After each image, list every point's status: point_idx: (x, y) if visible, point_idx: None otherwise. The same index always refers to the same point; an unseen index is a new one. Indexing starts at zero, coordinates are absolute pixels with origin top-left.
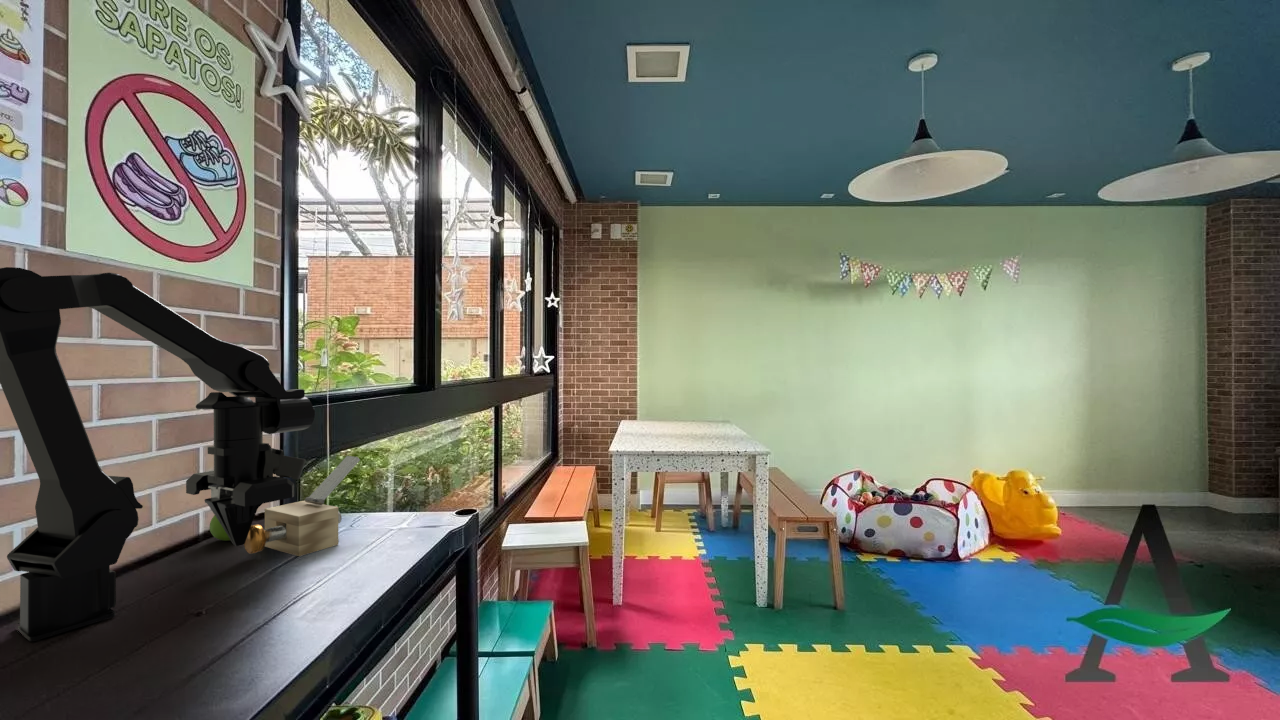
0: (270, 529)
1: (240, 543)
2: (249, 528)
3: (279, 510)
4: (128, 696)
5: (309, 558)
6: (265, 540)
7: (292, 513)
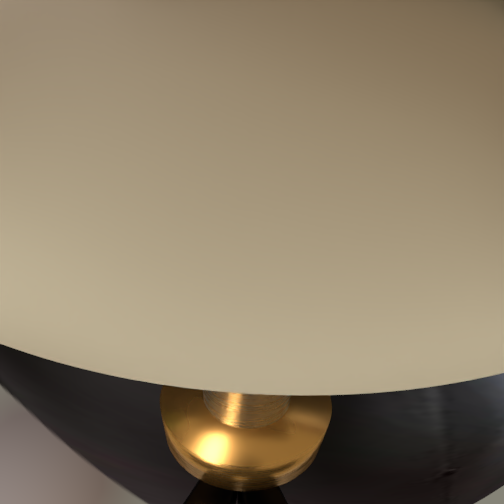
0: None
1: None
2: (284, 498)
3: (83, 326)
4: (496, 487)
5: None
6: (329, 395)
7: (464, 350)
